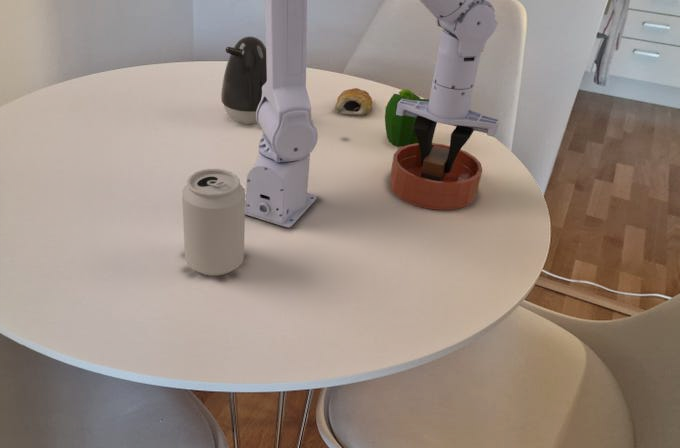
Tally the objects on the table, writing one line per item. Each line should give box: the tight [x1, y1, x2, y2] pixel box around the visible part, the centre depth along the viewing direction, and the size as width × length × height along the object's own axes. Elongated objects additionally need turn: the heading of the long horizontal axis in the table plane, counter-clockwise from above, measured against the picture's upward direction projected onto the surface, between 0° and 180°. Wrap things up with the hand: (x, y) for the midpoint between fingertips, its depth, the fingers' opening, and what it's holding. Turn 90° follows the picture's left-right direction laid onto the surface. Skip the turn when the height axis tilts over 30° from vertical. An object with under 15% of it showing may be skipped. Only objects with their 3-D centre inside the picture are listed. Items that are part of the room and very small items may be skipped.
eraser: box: [421, 145, 449, 181], centre depth 98 cm, size 6×3×4 cm, turn 152°
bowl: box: [389, 142, 483, 211], centre depth 99 cm, size 13×13×4 cm
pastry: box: [335, 87, 373, 117], centre depth 125 cm, size 9×7×4 cm
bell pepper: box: [384, 88, 430, 148], centre depth 111 cm, size 8×8×10 cm
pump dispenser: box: [220, 35, 267, 125], centre depth 115 cm, size 10×10×15 cm
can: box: [181, 168, 246, 277], centre depth 79 cm, size 8×8×12 cm
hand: (436, 167), depth 98 cm, fingers closed on eraser, 3 cm apart
